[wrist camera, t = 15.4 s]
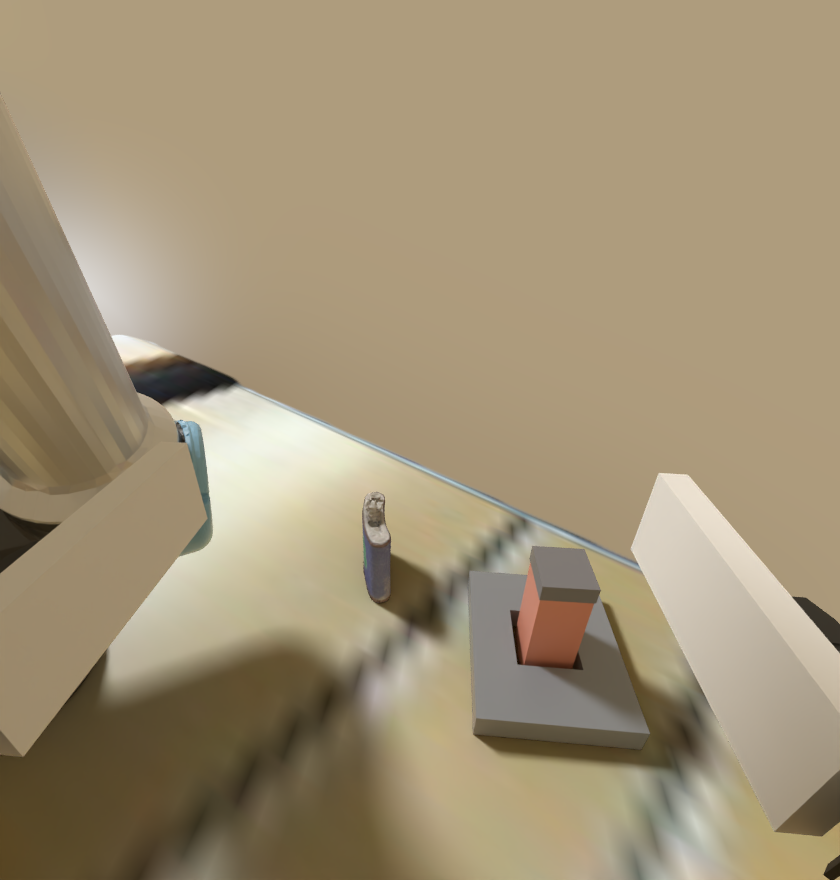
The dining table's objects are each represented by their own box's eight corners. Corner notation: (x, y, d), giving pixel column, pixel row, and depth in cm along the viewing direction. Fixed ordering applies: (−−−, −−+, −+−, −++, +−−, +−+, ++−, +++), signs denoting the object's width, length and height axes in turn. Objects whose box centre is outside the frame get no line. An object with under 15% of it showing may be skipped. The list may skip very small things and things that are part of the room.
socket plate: (473, 734, 36) (476, 718, 35) (467, 586, 50) (469, 570, 49) (641, 749, 36) (650, 733, 34) (588, 595, 50) (593, 580, 48)
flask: (392, 602, 48) (392, 529, 43) (366, 605, 47) (362, 532, 42) (384, 545, 56) (383, 477, 50) (361, 547, 55) (358, 479, 50)
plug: (520, 675, 41) (542, 586, 35) (513, 632, 45) (532, 546, 39) (570, 679, 41) (600, 590, 35) (558, 635, 45) (584, 549, 39)
